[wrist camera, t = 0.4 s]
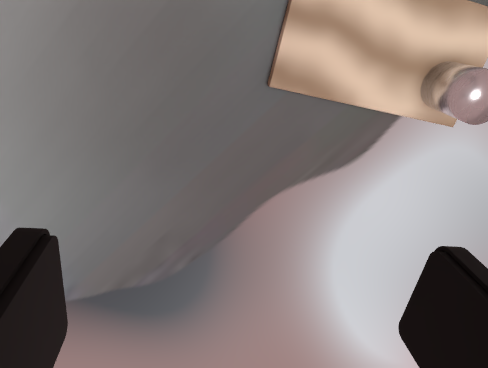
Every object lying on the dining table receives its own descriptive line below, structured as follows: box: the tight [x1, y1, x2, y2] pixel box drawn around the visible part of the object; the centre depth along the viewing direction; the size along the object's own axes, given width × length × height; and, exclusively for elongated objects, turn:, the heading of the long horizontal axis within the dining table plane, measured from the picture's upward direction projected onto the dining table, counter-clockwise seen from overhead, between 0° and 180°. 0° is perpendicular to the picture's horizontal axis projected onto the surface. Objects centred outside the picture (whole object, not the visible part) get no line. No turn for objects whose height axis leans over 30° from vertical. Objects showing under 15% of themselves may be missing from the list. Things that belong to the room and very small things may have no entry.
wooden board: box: [268, 0, 488, 127], centre depth 36 cm, size 12×22×1 cm, turn 77°
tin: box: [421, 61, 488, 125], centre depth 35 cm, size 5×5×6 cm
